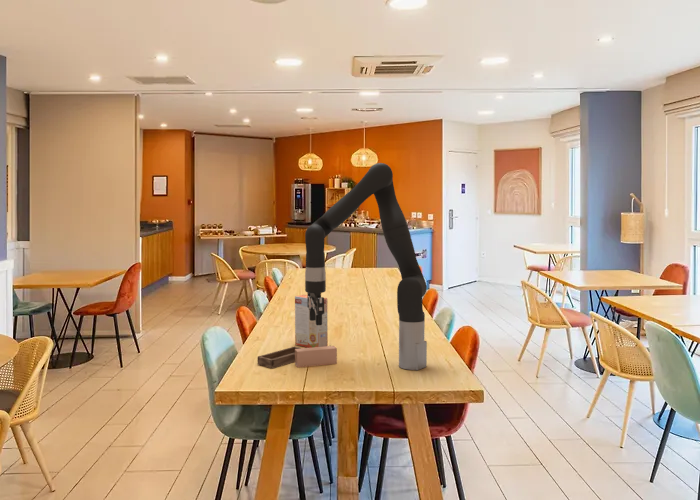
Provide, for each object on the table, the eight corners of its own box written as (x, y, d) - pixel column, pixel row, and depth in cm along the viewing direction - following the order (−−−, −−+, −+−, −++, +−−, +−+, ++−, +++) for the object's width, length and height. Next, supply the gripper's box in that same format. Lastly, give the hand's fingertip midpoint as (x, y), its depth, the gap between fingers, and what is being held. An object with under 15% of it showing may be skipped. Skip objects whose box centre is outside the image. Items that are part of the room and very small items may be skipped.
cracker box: (328, 348, 238) (328, 297, 236) (317, 350, 233) (317, 299, 231) (305, 342, 247) (304, 293, 245) (294, 344, 243) (294, 295, 241)
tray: (309, 357, 224) (309, 349, 223) (272, 368, 209) (272, 360, 209) (294, 353, 229) (294, 346, 229) (257, 364, 215) (257, 356, 214)
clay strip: (333, 361, 219) (333, 345, 219) (336, 364, 216) (336, 348, 215) (295, 364, 215) (294, 349, 214) (297, 367, 211) (297, 351, 210)
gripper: (331, 281, 207) (331, 326, 208) (319, 276, 220) (320, 318, 222) (310, 282, 204) (311, 327, 206) (300, 277, 218) (300, 319, 219)
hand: (315, 322), depth 214 cm, fingers open, 8 cm apart
